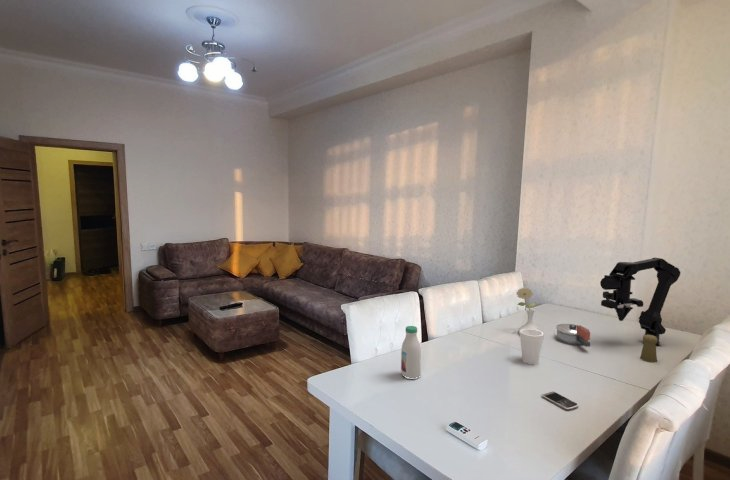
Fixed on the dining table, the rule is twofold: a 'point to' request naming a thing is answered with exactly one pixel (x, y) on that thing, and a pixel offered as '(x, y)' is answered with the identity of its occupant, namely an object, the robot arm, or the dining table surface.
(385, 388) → the dining table surface
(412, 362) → the milk bottle
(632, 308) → the robot arm
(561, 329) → the lid
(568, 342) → the pot
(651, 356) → the cork
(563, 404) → the cell phone
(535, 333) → the foam cup
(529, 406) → the dining table surface
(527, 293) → the flower in vase
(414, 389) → the dining table surface
